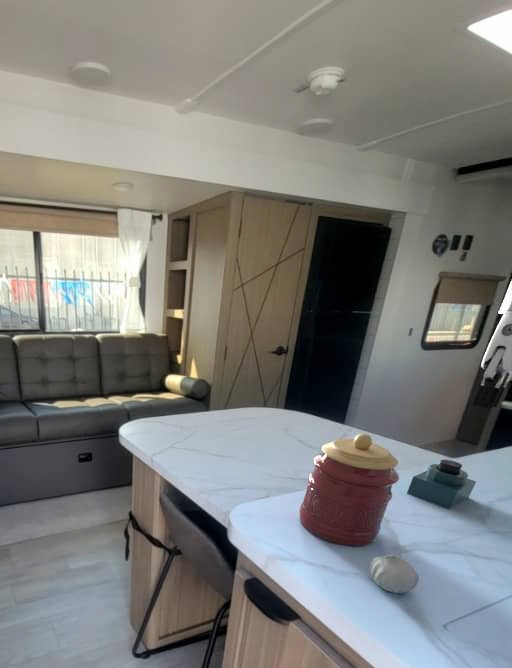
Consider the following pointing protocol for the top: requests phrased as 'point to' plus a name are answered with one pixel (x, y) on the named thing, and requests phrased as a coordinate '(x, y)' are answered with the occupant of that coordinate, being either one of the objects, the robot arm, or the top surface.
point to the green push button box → (441, 487)
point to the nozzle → (450, 467)
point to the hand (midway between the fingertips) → (484, 405)
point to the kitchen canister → (349, 491)
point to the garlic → (393, 574)
